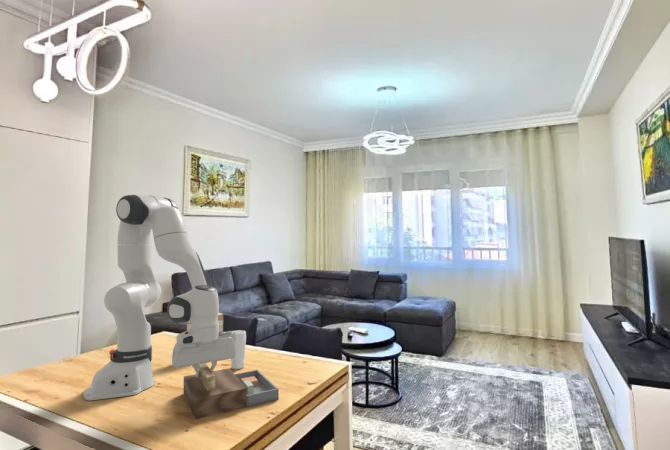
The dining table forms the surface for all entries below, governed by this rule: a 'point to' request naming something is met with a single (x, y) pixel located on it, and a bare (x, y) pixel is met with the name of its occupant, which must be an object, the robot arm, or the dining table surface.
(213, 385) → the bar
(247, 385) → the sage tile
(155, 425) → the dining table surface
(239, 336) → the drinking glass
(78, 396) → the dining table surface
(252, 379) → the terracotta tile
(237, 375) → the box
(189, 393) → the walnut platform
